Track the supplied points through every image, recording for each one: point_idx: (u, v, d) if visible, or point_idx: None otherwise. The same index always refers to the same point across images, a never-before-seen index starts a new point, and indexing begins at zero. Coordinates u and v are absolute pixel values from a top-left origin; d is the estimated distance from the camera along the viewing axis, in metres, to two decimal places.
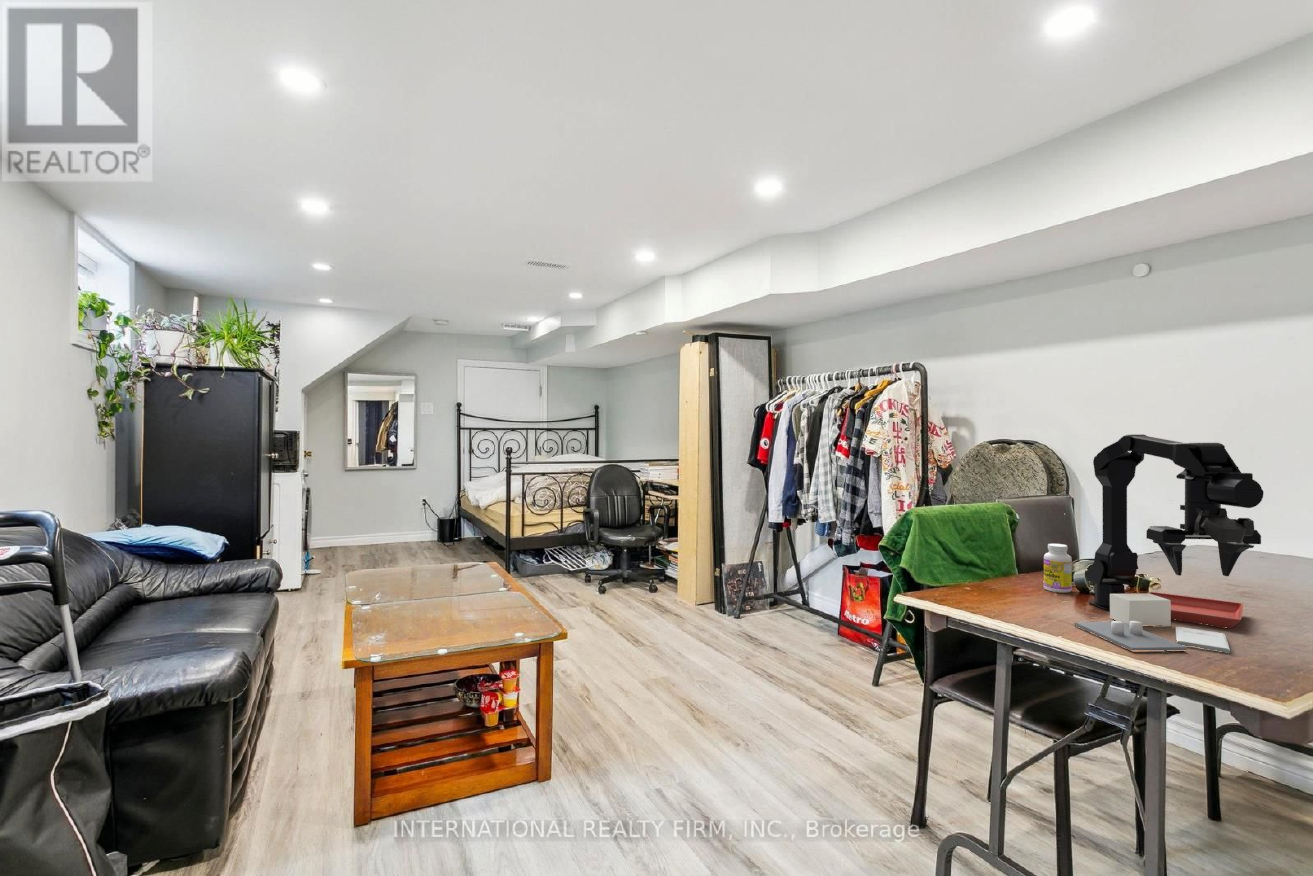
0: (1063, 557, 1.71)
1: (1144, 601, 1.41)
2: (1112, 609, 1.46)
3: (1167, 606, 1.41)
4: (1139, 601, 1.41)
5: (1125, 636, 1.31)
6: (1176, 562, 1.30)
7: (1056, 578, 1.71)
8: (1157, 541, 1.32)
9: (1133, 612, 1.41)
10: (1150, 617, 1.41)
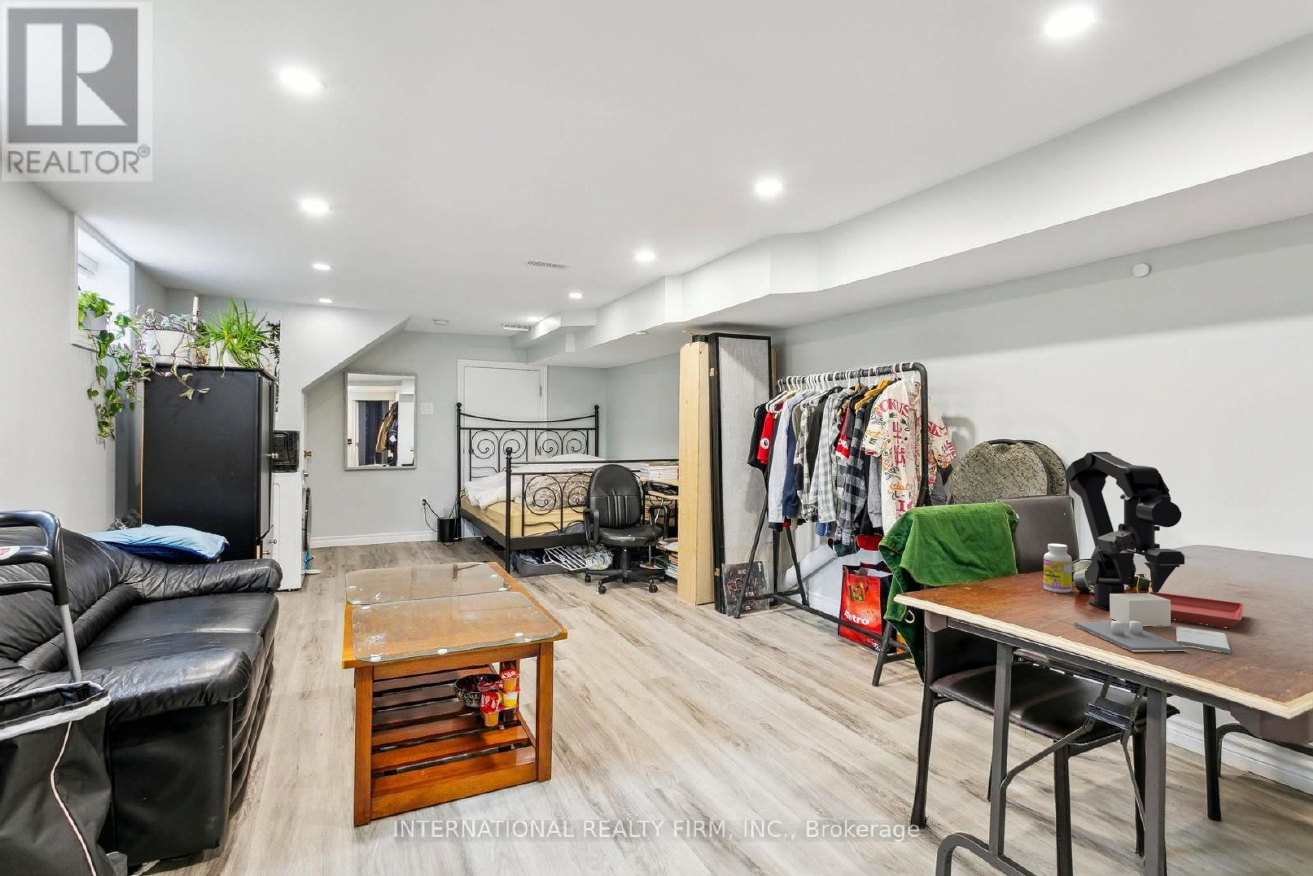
0: (1063, 557, 1.71)
1: (1144, 601, 1.41)
2: (1112, 609, 1.46)
3: (1167, 606, 1.41)
4: (1139, 601, 1.41)
5: (1125, 636, 1.31)
6: None
7: (1056, 578, 1.71)
8: None
9: (1133, 612, 1.41)
10: (1150, 617, 1.41)
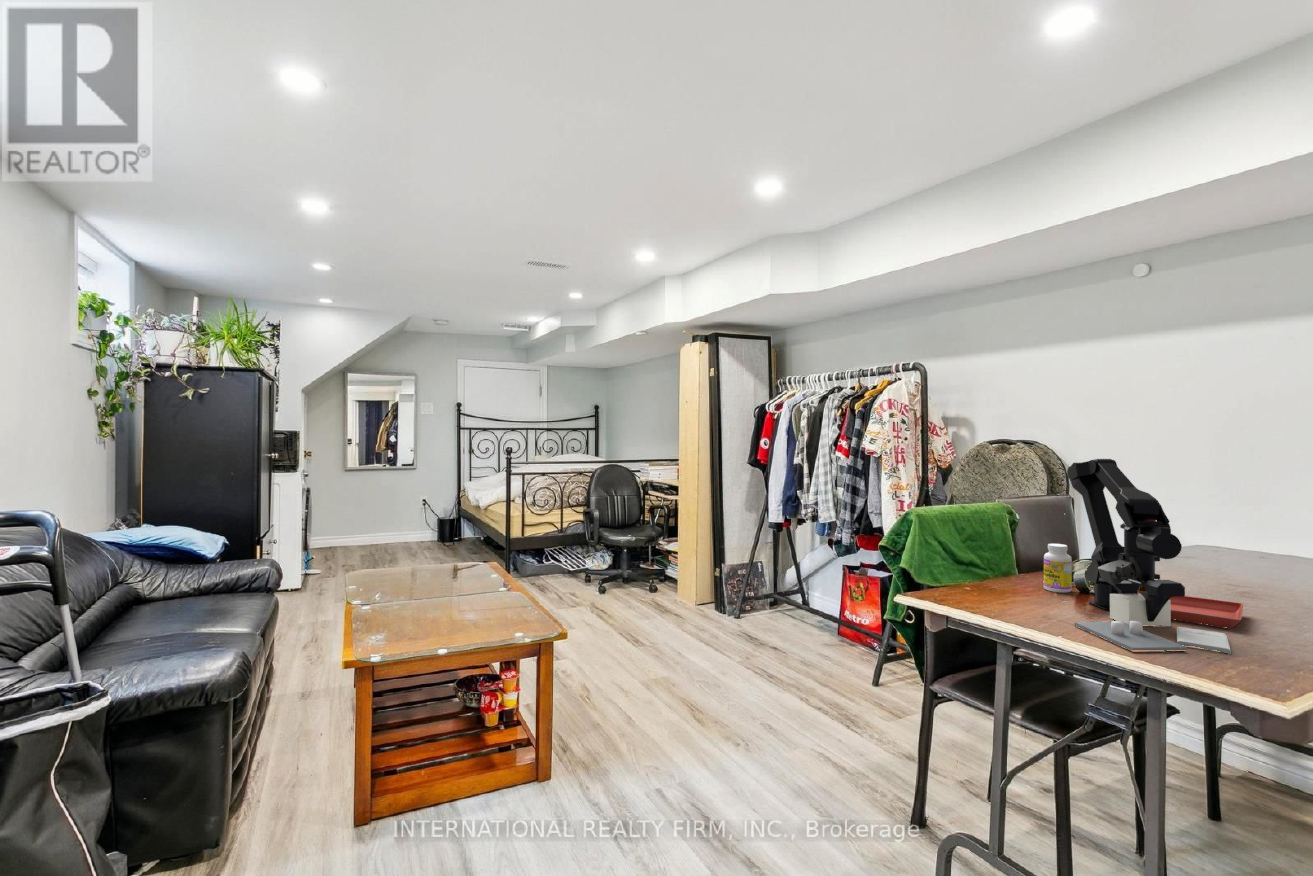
0: (1063, 557, 1.71)
1: (1144, 601, 1.41)
2: (1112, 609, 1.46)
3: (1167, 606, 1.41)
4: (1139, 601, 1.41)
5: (1125, 636, 1.31)
6: None
7: (1056, 578, 1.71)
8: None
9: (1133, 612, 1.41)
10: None
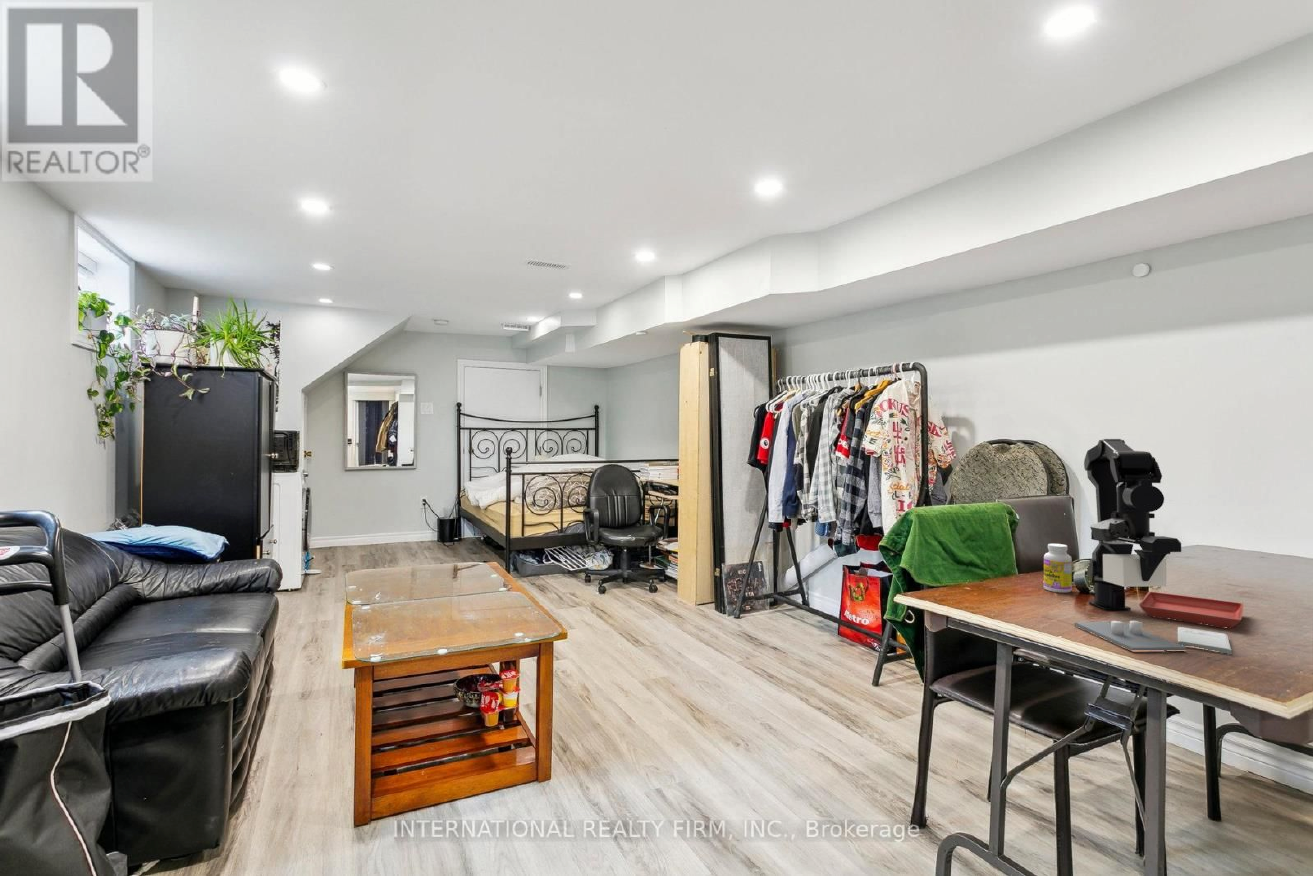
0: (1063, 557, 1.71)
1: (1139, 560, 1.34)
2: (1105, 570, 1.39)
3: (1163, 565, 1.34)
4: (1133, 559, 1.34)
5: (1125, 636, 1.31)
6: None
7: (1056, 578, 1.71)
8: None
9: (1127, 571, 1.34)
10: None
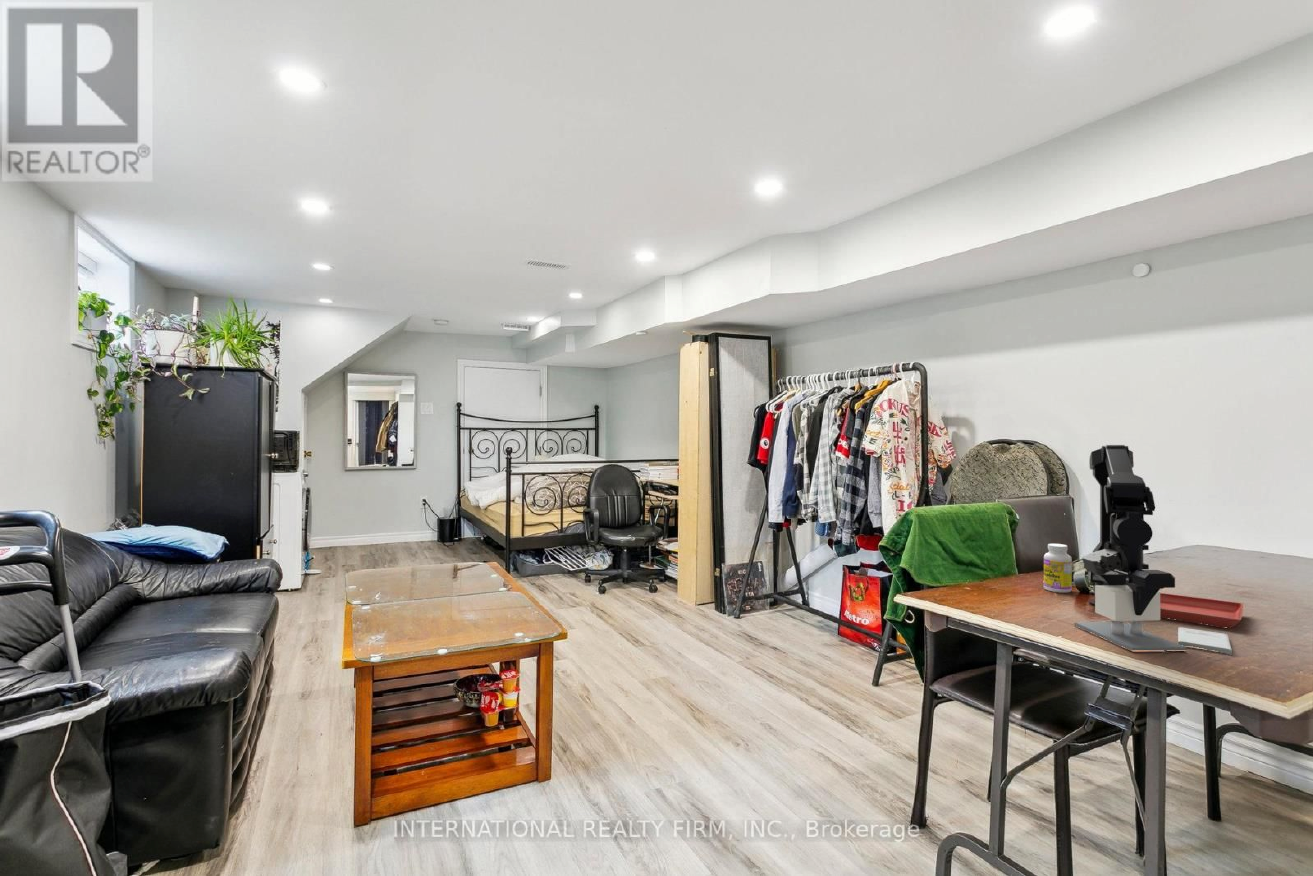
0: (1063, 557, 1.71)
1: (1131, 593, 1.30)
2: (1097, 602, 1.35)
3: (1156, 598, 1.30)
4: (1126, 593, 1.30)
5: (1125, 636, 1.31)
6: None
7: (1056, 578, 1.71)
8: None
9: (1119, 605, 1.30)
10: None
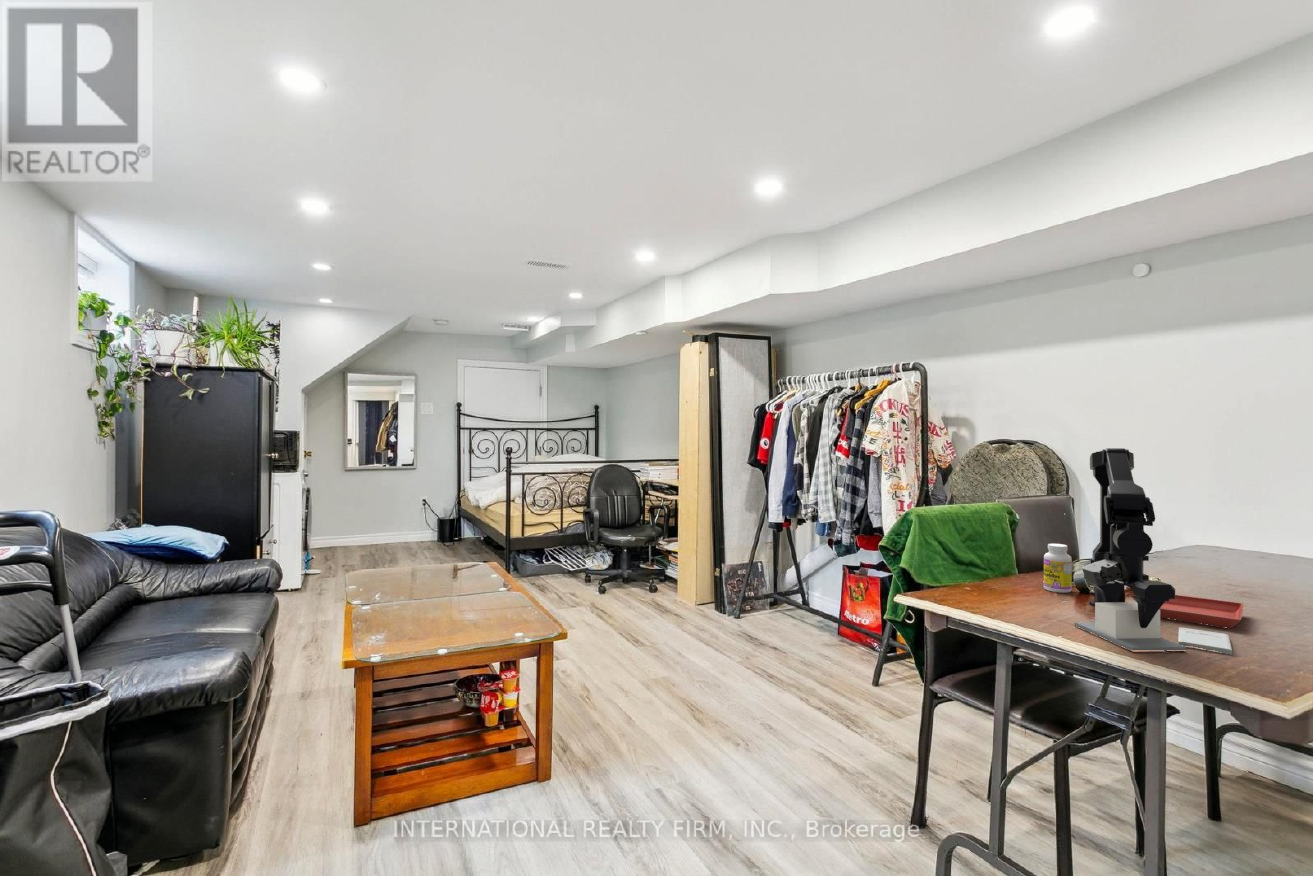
0: (1063, 557, 1.71)
1: (1132, 611, 1.30)
2: (1097, 619, 1.35)
3: (1156, 616, 1.30)
4: (1126, 611, 1.30)
5: None
6: None
7: (1056, 578, 1.71)
8: None
9: (1120, 623, 1.30)
10: (1138, 628, 1.30)
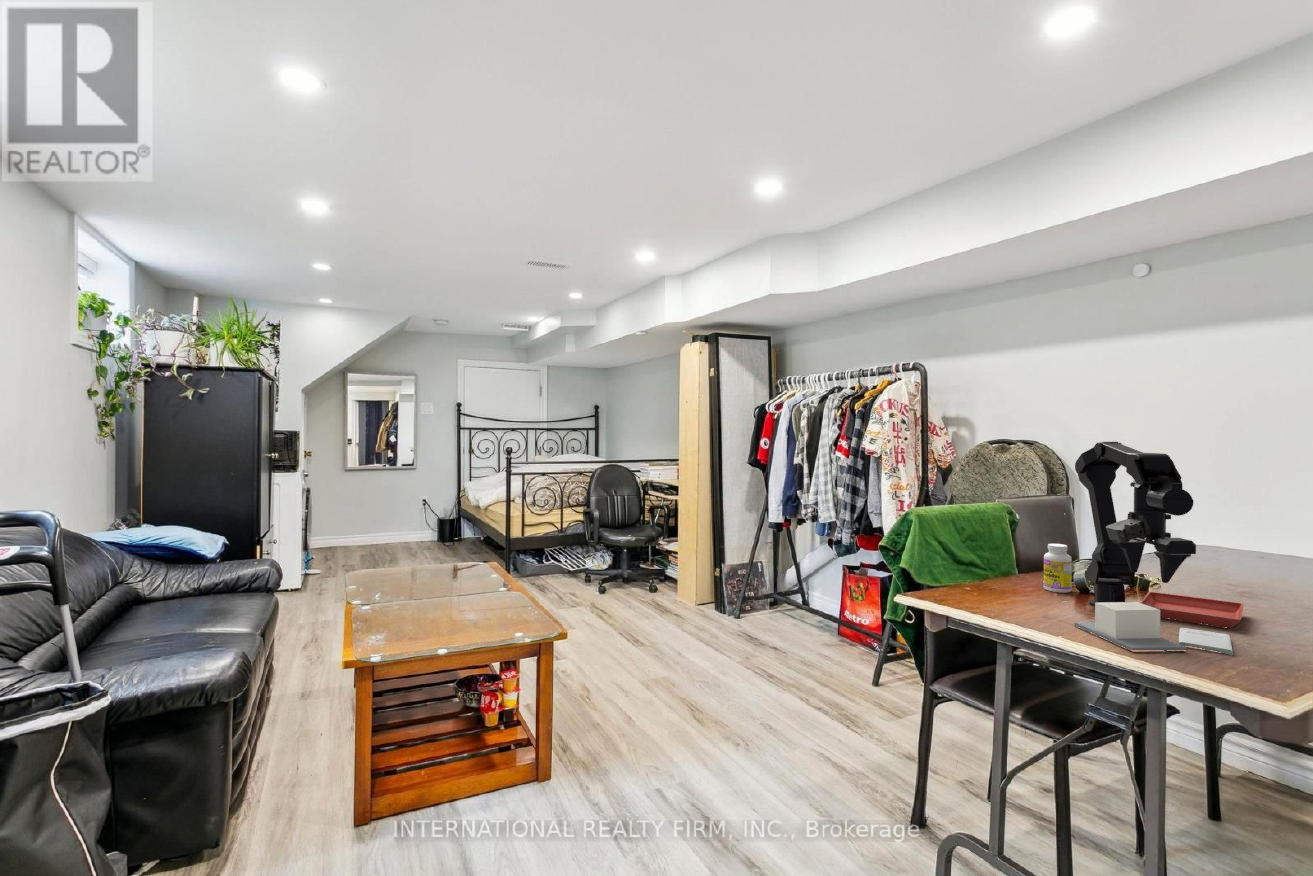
0: (1063, 557, 1.71)
1: (1132, 611, 1.30)
2: (1097, 619, 1.35)
3: (1156, 616, 1.30)
4: (1126, 611, 1.30)
5: None
6: None
7: (1056, 578, 1.71)
8: None
9: (1120, 623, 1.30)
10: (1138, 628, 1.30)
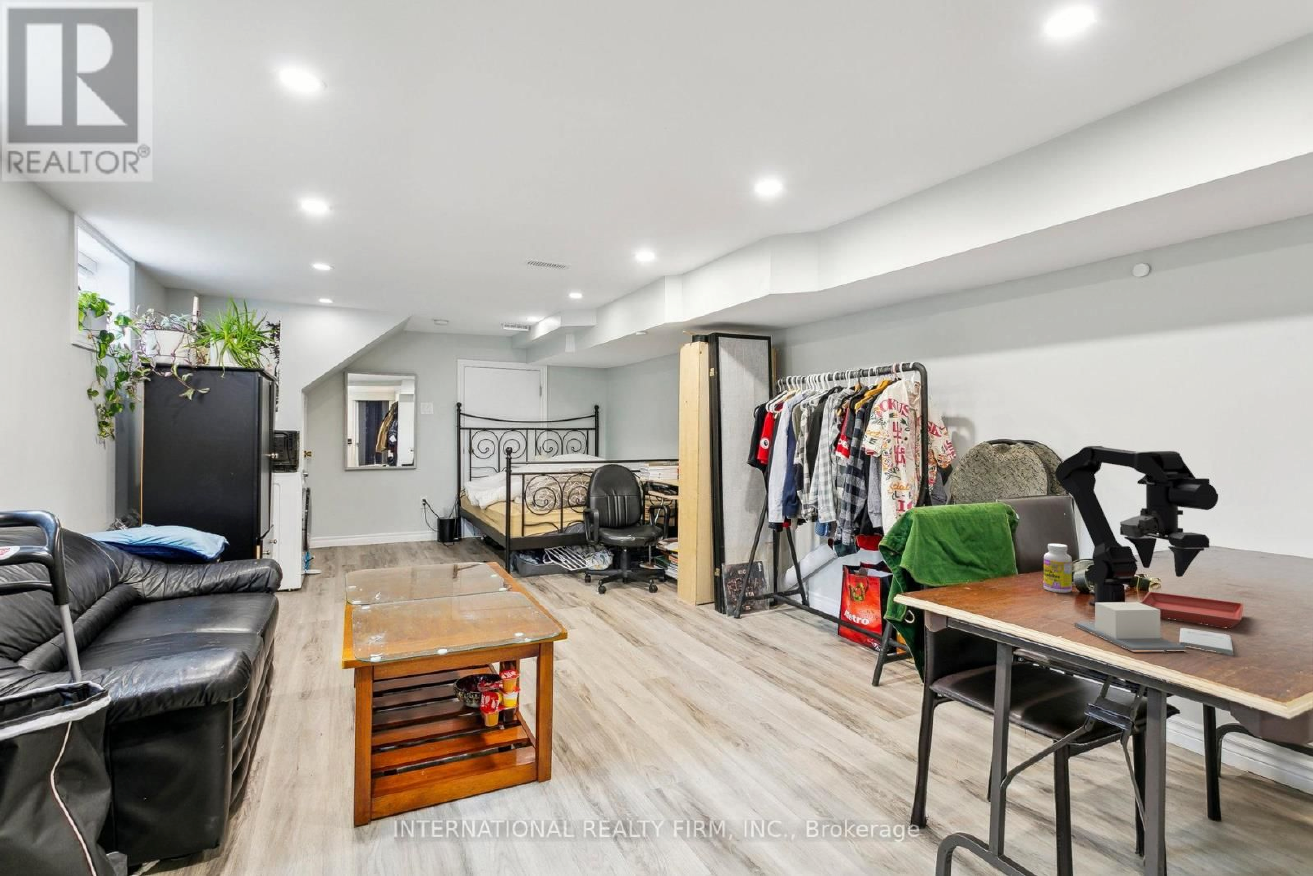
0: (1063, 557, 1.71)
1: (1132, 611, 1.30)
2: (1097, 619, 1.35)
3: (1156, 616, 1.30)
4: (1126, 611, 1.30)
5: None
6: None
7: (1056, 578, 1.71)
8: None
9: (1120, 623, 1.30)
10: (1138, 628, 1.30)
